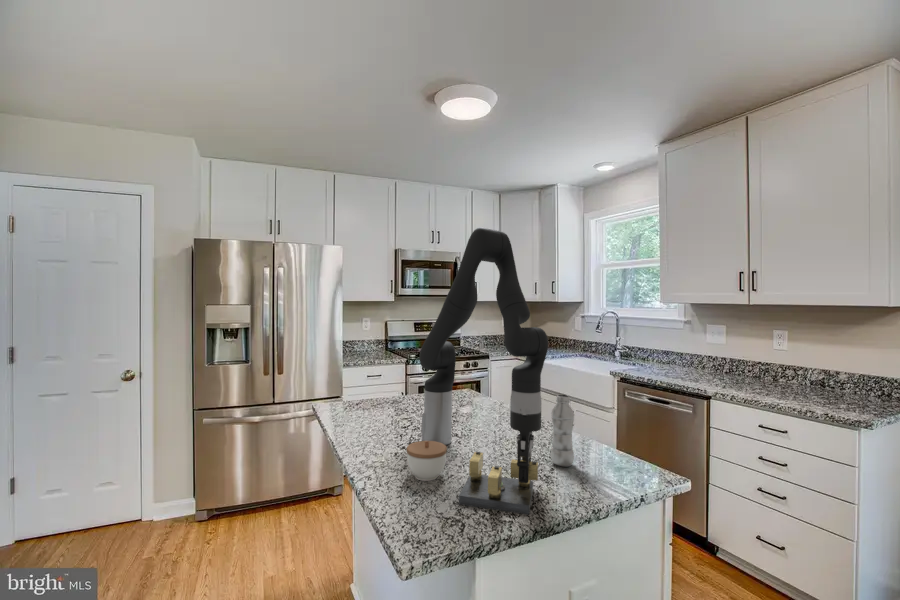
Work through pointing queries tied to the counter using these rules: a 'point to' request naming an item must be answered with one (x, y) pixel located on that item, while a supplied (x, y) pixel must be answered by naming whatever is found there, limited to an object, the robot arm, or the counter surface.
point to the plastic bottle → (562, 432)
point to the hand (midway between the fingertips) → (525, 475)
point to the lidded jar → (426, 459)
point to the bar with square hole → (495, 482)
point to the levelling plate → (510, 500)
